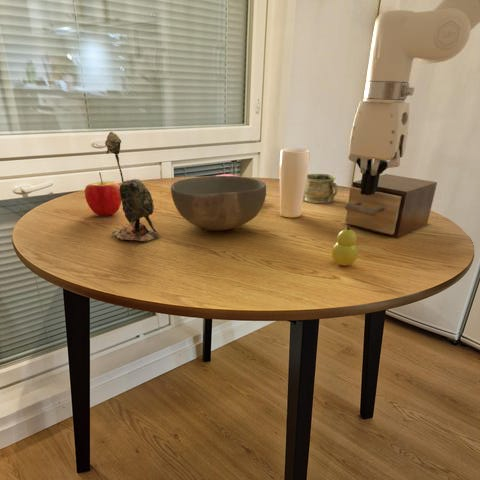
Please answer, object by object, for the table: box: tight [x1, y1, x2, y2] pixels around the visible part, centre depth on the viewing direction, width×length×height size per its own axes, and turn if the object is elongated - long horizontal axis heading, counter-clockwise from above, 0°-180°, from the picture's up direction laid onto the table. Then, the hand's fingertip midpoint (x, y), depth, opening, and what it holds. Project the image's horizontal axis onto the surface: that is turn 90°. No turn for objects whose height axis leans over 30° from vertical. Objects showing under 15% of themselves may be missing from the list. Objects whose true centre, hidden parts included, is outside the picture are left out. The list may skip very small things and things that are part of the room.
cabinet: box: [346, 173, 438, 239], centre depth 96 cm, size 15×13×10 cm
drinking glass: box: [278, 147, 311, 219], centre depth 100 cm, size 7×7×15 cm
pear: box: [331, 225, 359, 267], centre depth 74 cm, size 5×5×7 cm
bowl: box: [170, 175, 267, 232], centre depth 92 cm, size 20×20×10 cm
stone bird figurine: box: [104, 131, 159, 242], centre depth 82 cm, size 8×11×20 cm
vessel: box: [303, 173, 339, 204], centre depth 117 cm, size 12×9×6 cm
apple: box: [84, 172, 122, 217], centre depth 99 cm, size 8×8×10 cm
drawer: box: [345, 186, 402, 235], centre depth 93 cm, size 18×11×8 cm, turn 135°
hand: (367, 193), depth 87 cm, fingers closed
